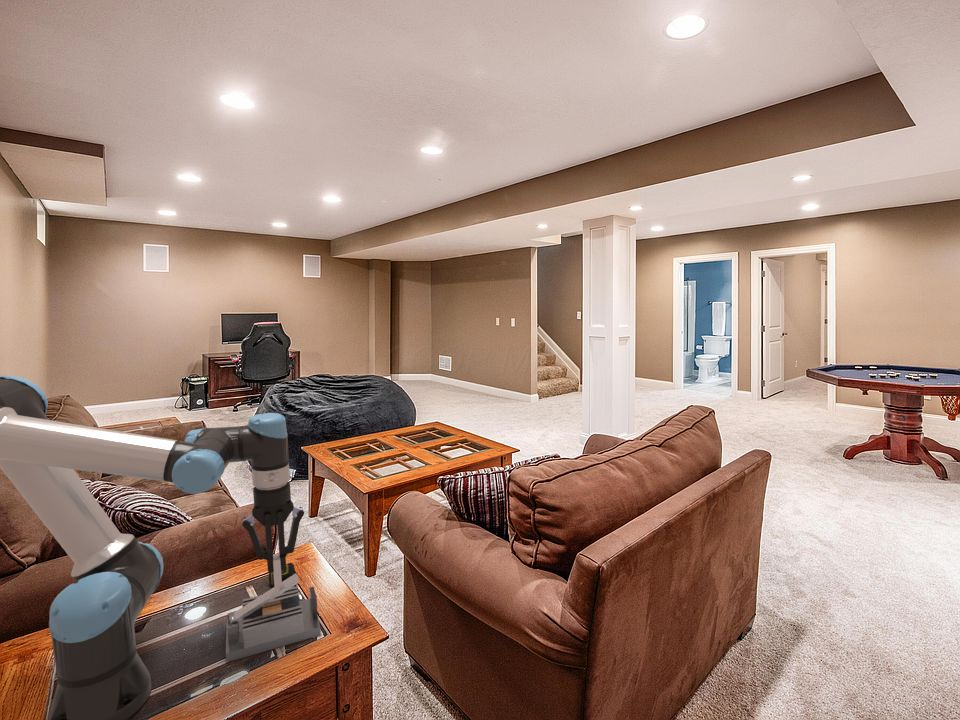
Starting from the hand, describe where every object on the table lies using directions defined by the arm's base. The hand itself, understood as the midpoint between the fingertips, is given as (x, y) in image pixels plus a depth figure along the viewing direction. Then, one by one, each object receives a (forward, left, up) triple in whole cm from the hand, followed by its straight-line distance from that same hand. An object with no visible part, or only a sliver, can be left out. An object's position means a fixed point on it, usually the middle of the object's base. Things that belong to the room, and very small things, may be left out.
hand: (277, 583), depth 112 cm
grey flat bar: (-3, 0, -4) cm, 4 cm away
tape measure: (+3, +20, -12) cm, 24 cm away
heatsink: (-2, 0, -11) cm, 11 cm away
